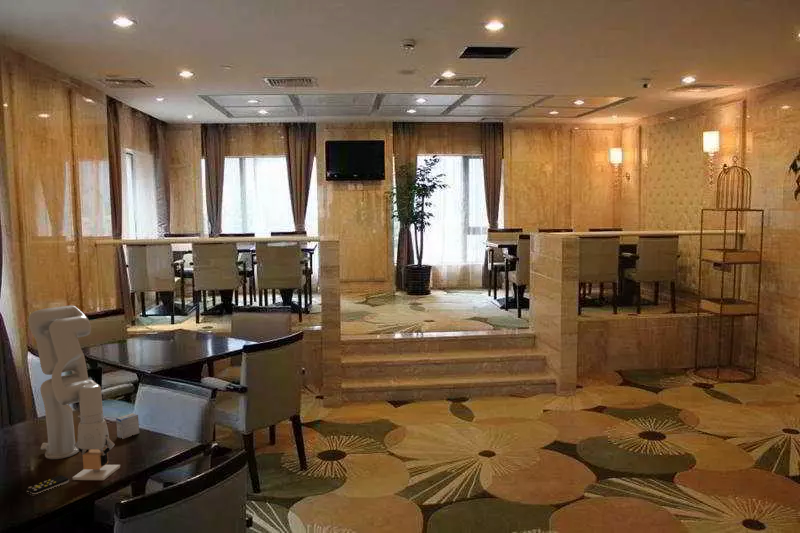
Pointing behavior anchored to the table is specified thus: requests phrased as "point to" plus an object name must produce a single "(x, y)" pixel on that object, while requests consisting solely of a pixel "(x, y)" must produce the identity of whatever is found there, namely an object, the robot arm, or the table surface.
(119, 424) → the medicine box
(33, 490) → the remote control
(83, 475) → the post base
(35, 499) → the table surface
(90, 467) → the cardboard shipping carton
